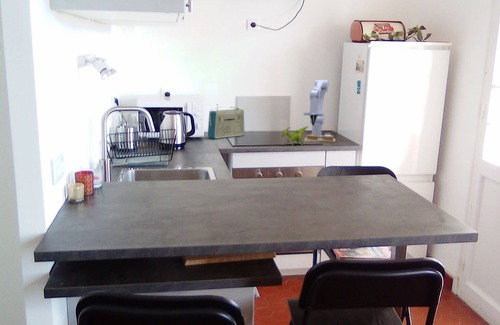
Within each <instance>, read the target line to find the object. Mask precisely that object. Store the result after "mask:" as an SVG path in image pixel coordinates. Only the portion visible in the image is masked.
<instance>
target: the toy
mask: <svg viewBox="0 0 500 325" xmlns="http://www.w3.org/2000/svg"><path fill="white" fill-rule="evenodd" d="M308 127H309V125H307V126H304V127H302V128H300V129H298V130H295V131H293V132H292V133H290V134H289V131H288V130H289V129H291V127H288V128H286V129H285V130H284V131H283V132H282V134H281V135H280V136H281V137H282V138H283V137H284V136H285V137H286V138H287V139H288V142H287V144H290V143H292V144H291V146H294V144H295V142H296V144H299V143H301V144H300V146H303V145H304V143H305V142H304V140H302V139H303V135H304V132H305V131H306V130H307V129H308Z"/></svg>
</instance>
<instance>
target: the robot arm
mask: <svg viewBox="0 0 500 325" xmlns="http://www.w3.org/2000/svg"><path fill="white" fill-rule="evenodd" d="M329 84H330V83H329V80H328V79H315V81H314V86H313V88H312V89H311V90H310V92H309V101H310V107H309V112H308V111H307V112H306V111H305V112H303V116H309V117H310V124H311V134H316V135H318V138H322V135H323V134H322V129H323V128H322V127H323V125H324V123H325V114H324V112H323V106H324V99H325V94H326V93H327V92H328V90H329Z"/></svg>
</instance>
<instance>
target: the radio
mask: <svg viewBox="0 0 500 325" xmlns="http://www.w3.org/2000/svg"><path fill="white" fill-rule="evenodd" d="M218 105H219V104H218V103H216V110H214V108H212V109H211V110H209V114H208V124H207V137H208V138H209V139H212V140H223V139H230V138H239V137H240V138H241V137H244V136H245V133H246V131H245V112H244V109H242V108H241V109H240V108H238V107H234V106H231V108H232V109H222V110H218V108H219V109H220V108H221V106H220V107H218Z"/></svg>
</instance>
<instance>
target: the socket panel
mask: <svg viewBox="0 0 500 325" xmlns="http://www.w3.org/2000/svg"><path fill="white" fill-rule="evenodd" d="M310 134H311V133H308V134H307V135H306V137H304V140H303V142H311V141H313V142H314V143H333V144H334V143H336V138H334V135H332V134H331V137H325V134H321V135H322V137H318V135H316V136H309V135H310Z"/></svg>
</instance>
